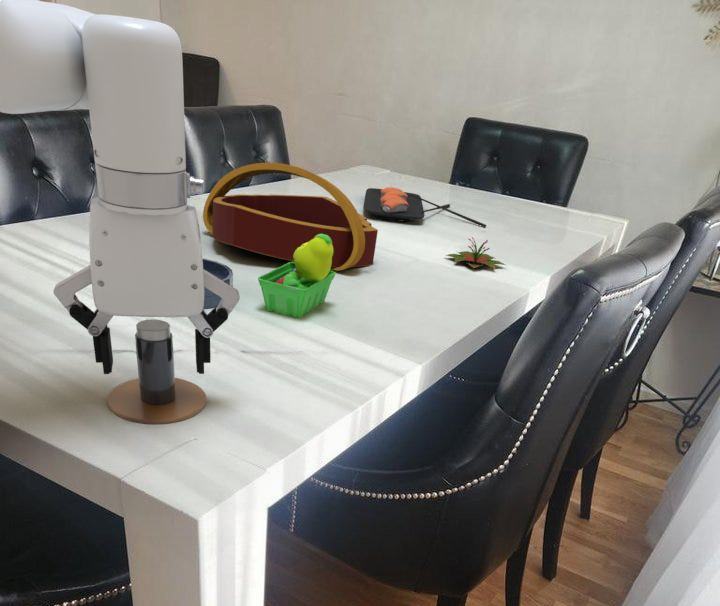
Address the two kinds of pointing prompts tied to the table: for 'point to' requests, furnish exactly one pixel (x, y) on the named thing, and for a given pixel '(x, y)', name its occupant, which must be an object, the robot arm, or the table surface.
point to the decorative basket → (288, 219)
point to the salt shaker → (155, 362)
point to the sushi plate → (400, 205)
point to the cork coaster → (132, 408)
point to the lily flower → (476, 257)
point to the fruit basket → (300, 279)
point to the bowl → (221, 273)
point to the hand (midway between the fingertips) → (155, 367)
